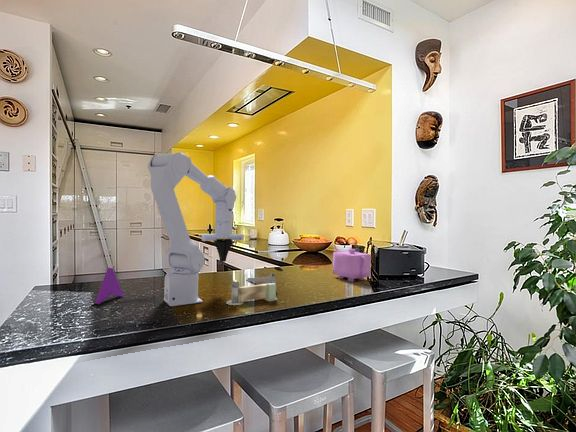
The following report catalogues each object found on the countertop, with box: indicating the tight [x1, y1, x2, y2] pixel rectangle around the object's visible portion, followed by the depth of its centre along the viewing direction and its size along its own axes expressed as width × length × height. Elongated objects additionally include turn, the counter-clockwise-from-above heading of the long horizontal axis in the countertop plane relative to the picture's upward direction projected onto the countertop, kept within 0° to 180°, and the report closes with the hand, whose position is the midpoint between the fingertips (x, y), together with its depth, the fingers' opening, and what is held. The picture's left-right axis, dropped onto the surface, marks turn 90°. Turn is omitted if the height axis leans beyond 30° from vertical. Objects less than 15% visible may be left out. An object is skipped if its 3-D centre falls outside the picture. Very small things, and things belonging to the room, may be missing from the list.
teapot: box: [332, 248, 372, 282], centre depth 142 cm, size 20×10×12 cm, turn 32°
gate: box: [238, 283, 271, 302], centre depth 104 cm, size 11×2×4 cm, turn 123°
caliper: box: [246, 272, 277, 285], centre depth 124 cm, size 20×1×6 cm, turn 35°
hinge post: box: [225, 280, 244, 307], centre depth 100 cm, size 5×5×7 cm
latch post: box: [264, 283, 278, 302], centre depth 105 cm, size 3×2×5 cm
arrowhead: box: [94, 267, 125, 305], centre depth 100 cm, size 10×2×10 cm
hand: (222, 261), depth 115 cm, fingers closed
